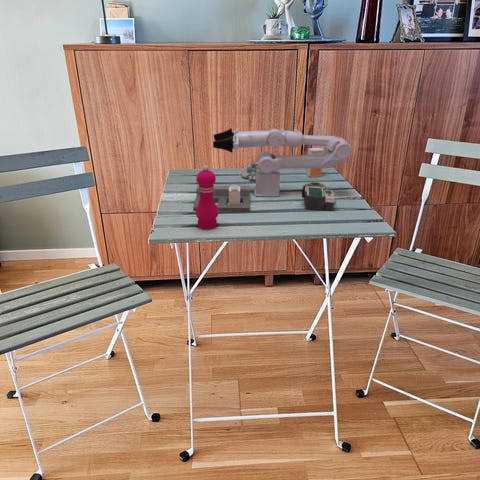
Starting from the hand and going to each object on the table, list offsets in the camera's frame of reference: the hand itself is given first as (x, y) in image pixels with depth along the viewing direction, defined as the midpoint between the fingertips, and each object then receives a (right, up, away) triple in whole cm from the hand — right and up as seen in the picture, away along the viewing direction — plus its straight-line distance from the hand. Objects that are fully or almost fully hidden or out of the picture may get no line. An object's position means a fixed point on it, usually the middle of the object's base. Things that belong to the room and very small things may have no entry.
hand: (213, 141), depth 150 cm
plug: (+8, -24, -2) cm, 25 cm away
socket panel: (+3, -23, 0) cm, 23 cm away
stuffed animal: (+16, -10, +28) cm, 33 cm away
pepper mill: (-1, -32, -18) cm, 37 cm away
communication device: (+39, -21, +5) cm, 45 cm away
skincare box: (+43, -8, +31) cm, 53 cm away
